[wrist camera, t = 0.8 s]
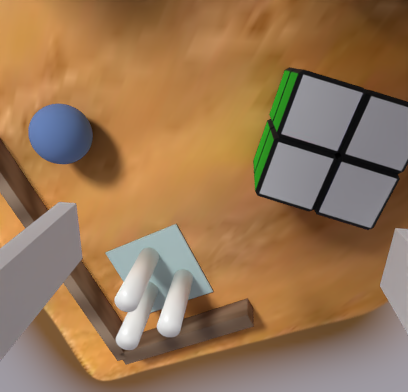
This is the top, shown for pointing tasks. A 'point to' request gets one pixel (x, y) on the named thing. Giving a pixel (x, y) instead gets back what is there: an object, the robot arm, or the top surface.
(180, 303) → the pin
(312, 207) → the puzzle cube
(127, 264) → the pin deck mark
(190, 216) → the top surface
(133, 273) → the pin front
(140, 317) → the pin
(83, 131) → the ball
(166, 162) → the top surface
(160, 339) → the lane bumper
